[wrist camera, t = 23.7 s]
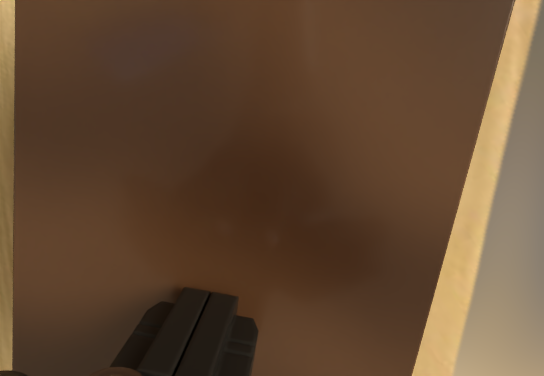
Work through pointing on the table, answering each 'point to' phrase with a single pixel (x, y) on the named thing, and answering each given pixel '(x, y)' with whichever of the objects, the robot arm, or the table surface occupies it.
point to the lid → (242, 171)
